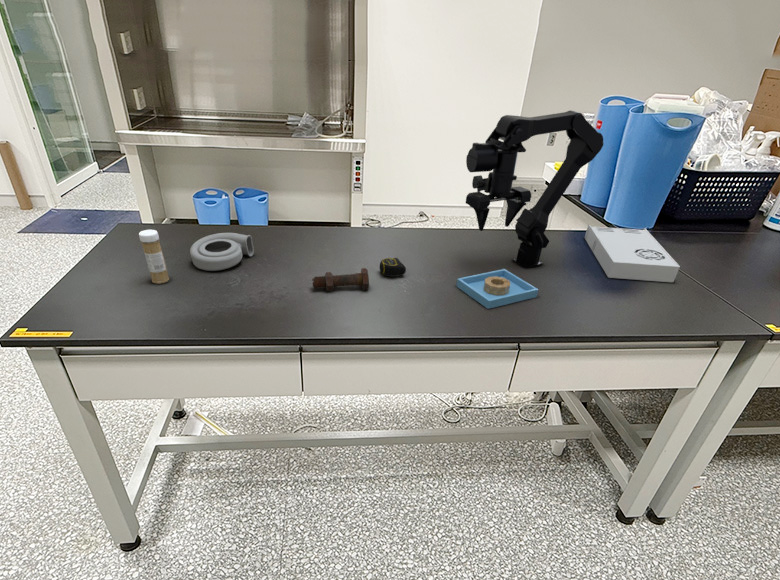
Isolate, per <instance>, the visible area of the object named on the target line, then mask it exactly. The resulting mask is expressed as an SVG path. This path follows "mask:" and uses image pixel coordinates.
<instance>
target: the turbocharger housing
mask: <svg viewBox="0 0 780 580" xmlns="http://www.w3.org/2000/svg"><path fill="white" fill-rule="evenodd" d="M189 253H190V257H191V261H192V264H193V265H194V266H195V267H196V268H197V269H200V270H203V271H208V272H216V271H218V272H219V271H224V270H226V269H231V268H232V267H234V266H237V265H238V264H239V263H240V262H241V261H242V258H243V255H245V256H248V257H253V255H254V254H255V247H254V242H253V237H252V235H250V234H248V235H247V234H242V233H236V232H220V233H219V232H218V233H214V234H209V235H206V236H203V237H202V238H200V239H198V240H196V241H195V242H194V243H193V244H192V245H191V247H190V249H189Z"/></svg>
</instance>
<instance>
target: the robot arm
mask: <svg viewBox="0 0 780 580" xmlns="http://www.w3.org/2000/svg"><path fill="white" fill-rule="evenodd" d="M564 131H565V133H566V136H567V138H568V139H569V143H568V145H567V147H566V154H565V159H564V160H563V162H562V163H561V165H560V167H559V168H558V170H557V171H556V172H555V175H554V176H553V177H552V179H551V180H550V182H549V183H548V185H547V187H546V188H545V189H544V191H543V193H542V194H541V195H540V197H539V199H538V200H537V201H536V203H535V205H534V206H533V207H531V208H530V209H527V208H526V207H525V206H527V203H531V200H532V192H531V190H529V189H528V188H526V187H522V186H513V183H514V181H517V178H518V177H517V175H515V172H516V165H517V161H518V156H519V153H525V152H526V151H527V149H526V147H525V146H524V145H523V143H524V142H527V141H528V140H529V139H531V138H532V137H535V136H539V135H546V134H552V133H556V132H557V133H558V132H559V133H560V132H564ZM604 144H605V143H604V135H603V134H602V133H601V132H598V131H597V129H596V128H595V127H594V126H593V125H592V124H590V122H589V121H588V120H587V119H586V118H585V115H584V114H583V113H582V112H579V111H575V110H572V109H571V110H567V111H565V112H557V113H551V114H544V115H539V116H531V117H530V116H529V117H528V116H521V115H512V114H505V115H503V116H501V117H499V120H498V121H497V124H496V126H495V128H494V129H493V130H492V131H491V133H490V134H489V136H488V137H487V139H486V140H485V142H483V143H482V142H481V143H480V142H473V143H472V147H471V148H470V149H469V151H468V152H467V155H466V160H465V161H466V168H467V170H468V172H469V173H485V172H489V173H488V174H487V177H485V178H483V176H482V175H481V174H480V175H474V176H473V177H472V182H471V184H472V185H471V187H472V188H473V189H474V190H475V189H476V190H477V191H474V192H473V191H472V192H468V193H467V195H466V196H465V204H467V205H469V207H470V208H472V209H473V210H474V212H475V216H476V220H477V221H476V222H477V225H478V230H479V231H480V232H483V231H484V228H485V226H486V223H487V220H488V216H489V213H490V210H491V209H490V208H489V206H490V205H491V203H495V202H501V201H506V204H507V205H506V206H507V207H506V212H505V213H506V214H505V220H504V226H505V227H506V228H508V227H509V226H510V225H511V224H512V222H513V220H514V219H515V217H516V216H517V215H518V214H519V212H520V211H521V210H522V209H523V207H525V208H524V209H523V210H522V212H521V213H520V215H519V216H518V218H516V223H515V225H514V229H515V233H516V235H517V240H519V241H521V242H520V244H519V247H518V248H517V253H516V258H513V259H512V262H515V263H516V264H518V265H520V266H522V267H523V268H525V269H529V268H534V267H538V266H542V265H543V262H541V261H540V259H541V254H542V249H546V248H547V247H548V245H549V243H550V239H548V236H546V234H545V232H546V230H547V228H548V224H549V217H550V214H551V213H552V211H553V210H554V209H555V207H556V206H557V204H558V203H559V201H560V199H561V198H562V196H563V195H564V194H565V192H566V190H568V188H569V186H570V185H571V183H572V181H573V180H574V179H575V177H576V176H577V174H578V173H579V171H580V170H581V168H584V166H586V165H588V164H589V163H590V162H592V161H593V160H594V159H595V158H596V157H597V155H598V154H599V153H600V151H602V149H603V147H604ZM481 191H484V192H481Z"/></svg>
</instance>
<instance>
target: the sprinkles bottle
mask: <svg viewBox="0 0 780 580" xmlns="http://www.w3.org/2000/svg"><path fill="white" fill-rule="evenodd" d="M138 237H139V241H140V242H141V245H142V249H143V253H144V257H145V260H146V265H147V267H148V271H149V275H150V277H151V278H150V279H151V282H152V283H153V284H157V285H158V284H159V285H161V284H165V283H167V282H169V281H170V277H169V274H168V270H167V264H166V261H165V257H164V254H163V251H162V247H161V243H160V236H159V232H158V231H157V230H156V229H144V230H141V231H140V232H139V233H138Z"/></svg>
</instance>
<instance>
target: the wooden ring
mask: <svg viewBox="0 0 780 580" xmlns="http://www.w3.org/2000/svg"><path fill="white" fill-rule="evenodd" d="M509 289H510V281H509V280H507V279H505V278H502V277H497V276H495V277H488V278H486V279H485V282H484V291H485V292H487V293H488V294H492V295H505V294H507V293H509Z"/></svg>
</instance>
